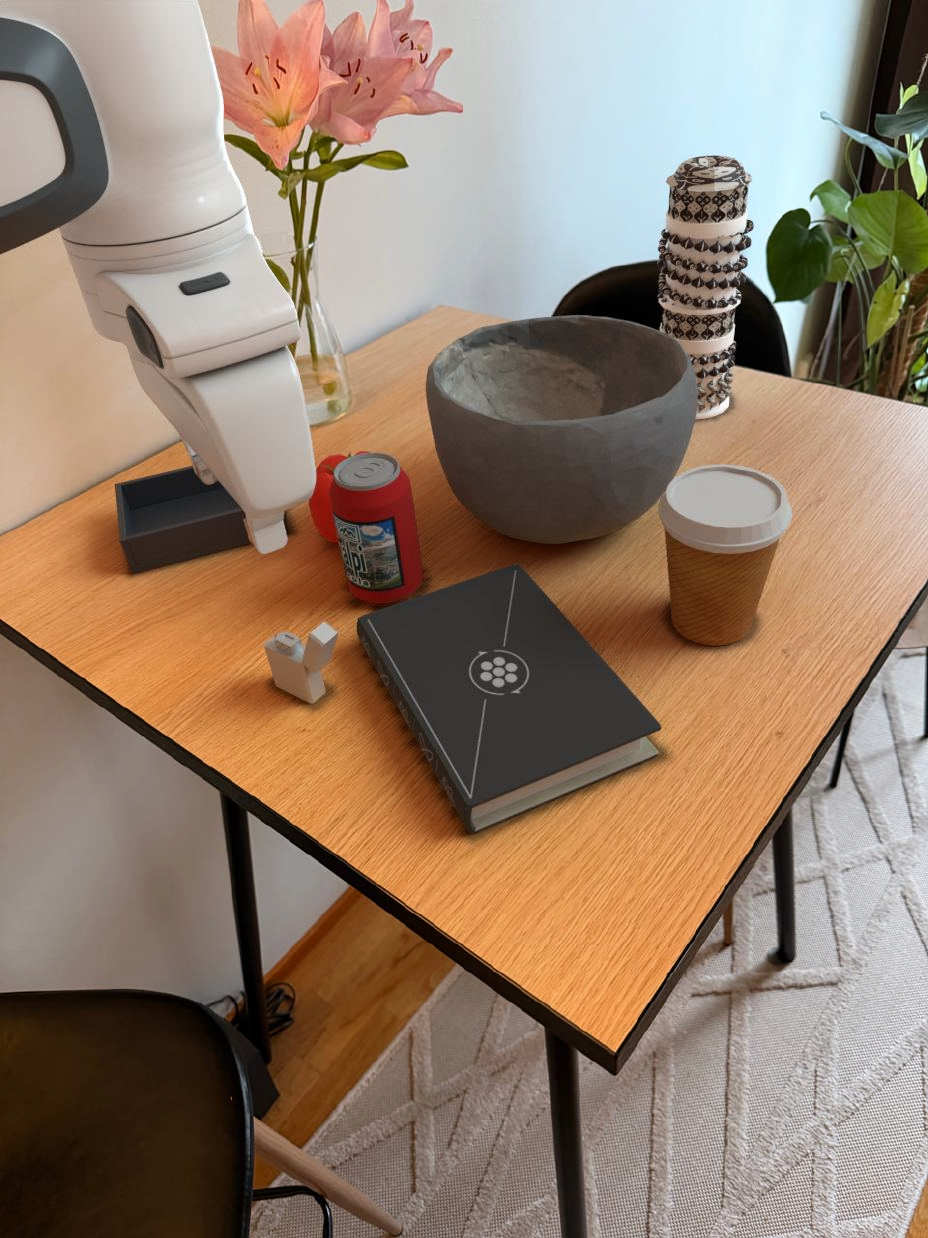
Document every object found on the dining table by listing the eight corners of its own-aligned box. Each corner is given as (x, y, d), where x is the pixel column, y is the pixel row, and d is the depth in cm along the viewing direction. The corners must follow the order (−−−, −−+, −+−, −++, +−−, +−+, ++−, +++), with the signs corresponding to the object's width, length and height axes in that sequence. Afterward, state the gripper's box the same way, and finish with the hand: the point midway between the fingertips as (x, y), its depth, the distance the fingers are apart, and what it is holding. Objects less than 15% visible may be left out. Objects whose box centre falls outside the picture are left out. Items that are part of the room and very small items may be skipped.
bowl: (495, 430, 101) (486, 297, 92) (715, 463, 92) (730, 318, 83) (390, 553, 85) (366, 405, 75) (645, 607, 76) (654, 447, 66)
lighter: (274, 685, 72) (251, 607, 67) (289, 672, 73) (267, 594, 68) (340, 719, 69) (321, 639, 63) (355, 705, 70) (337, 625, 64)
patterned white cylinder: (740, 419, 99) (770, 170, 83) (653, 423, 100) (667, 178, 84) (726, 381, 106) (752, 146, 90) (646, 386, 107) (657, 153, 91)
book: (359, 645, 75) (353, 618, 73) (519, 589, 79) (518, 562, 77) (467, 838, 59) (463, 808, 57) (660, 755, 63) (663, 726, 61)
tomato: (317, 514, 91) (302, 447, 86) (405, 503, 91) (395, 436, 86) (314, 568, 84) (298, 499, 79) (410, 556, 84) (400, 487, 79)
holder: (132, 574, 86) (119, 541, 83) (126, 515, 94) (114, 483, 92) (290, 533, 89) (282, 500, 86) (270, 479, 97) (262, 448, 95)
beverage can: (333, 595, 80) (307, 478, 73) (381, 556, 84) (361, 441, 77) (393, 619, 77) (372, 499, 70) (439, 576, 81) (424, 459, 74)
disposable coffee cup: (798, 627, 72) (823, 499, 64) (708, 677, 69) (723, 547, 61) (713, 571, 79) (727, 448, 71) (627, 613, 75) (632, 489, 68)
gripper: (63, 244, 51) (139, 459, 60) (173, 357, 37) (252, 615, 46) (170, 218, 54) (229, 428, 62) (312, 316, 40) (362, 569, 48)
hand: (240, 509), depth 54 cm, fingers open, 8 cm apart
